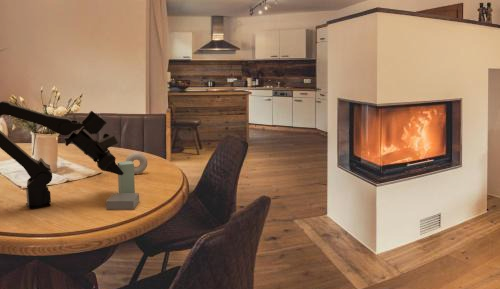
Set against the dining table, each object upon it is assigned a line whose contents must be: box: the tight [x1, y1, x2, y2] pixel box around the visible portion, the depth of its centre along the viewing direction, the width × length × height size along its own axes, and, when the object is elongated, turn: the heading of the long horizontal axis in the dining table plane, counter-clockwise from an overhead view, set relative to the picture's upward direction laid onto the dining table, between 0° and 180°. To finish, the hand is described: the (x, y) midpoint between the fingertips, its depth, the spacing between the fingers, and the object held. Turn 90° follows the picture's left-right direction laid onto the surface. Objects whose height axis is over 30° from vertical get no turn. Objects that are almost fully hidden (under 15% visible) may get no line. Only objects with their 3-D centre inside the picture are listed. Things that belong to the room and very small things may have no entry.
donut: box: [124, 151, 148, 175], centre depth 184 cm, size 10×4×10 cm, turn 109°
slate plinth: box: [105, 192, 140, 211], centre depth 142 cm, size 9×9×3 cm
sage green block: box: [117, 160, 136, 193], centre depth 153 cm, size 5×5×12 cm
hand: (120, 171), depth 151 cm, fingers open, 9 cm apart
